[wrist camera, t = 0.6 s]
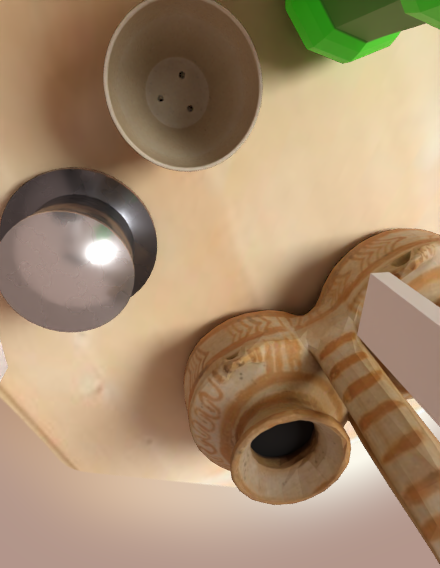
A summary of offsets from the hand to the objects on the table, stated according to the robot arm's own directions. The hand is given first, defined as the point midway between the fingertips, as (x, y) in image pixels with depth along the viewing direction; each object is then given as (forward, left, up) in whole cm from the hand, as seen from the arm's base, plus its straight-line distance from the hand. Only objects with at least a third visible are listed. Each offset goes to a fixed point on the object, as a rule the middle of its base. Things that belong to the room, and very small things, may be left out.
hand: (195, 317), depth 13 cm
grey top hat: (+4, -8, -22) cm, 24 cm away
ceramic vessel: (+16, +16, -22) cm, 32 cm away
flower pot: (-8, +1, -22) cm, 24 cm away
